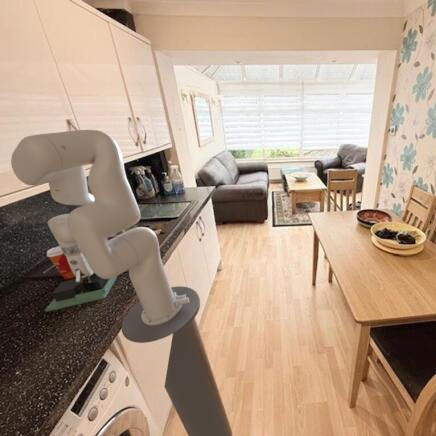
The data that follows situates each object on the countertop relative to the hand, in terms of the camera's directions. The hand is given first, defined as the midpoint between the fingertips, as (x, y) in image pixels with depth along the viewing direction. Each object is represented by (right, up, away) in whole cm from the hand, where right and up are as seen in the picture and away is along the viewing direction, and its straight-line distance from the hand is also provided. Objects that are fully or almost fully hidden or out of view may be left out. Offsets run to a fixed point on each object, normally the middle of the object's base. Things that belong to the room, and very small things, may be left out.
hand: (95, 284), depth 96 cm
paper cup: (-20, +1, +11) cm, 23 cm away
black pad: (0, -1, 0) cm, 1 cm away
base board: (-4, -3, 0) cm, 5 cm away
